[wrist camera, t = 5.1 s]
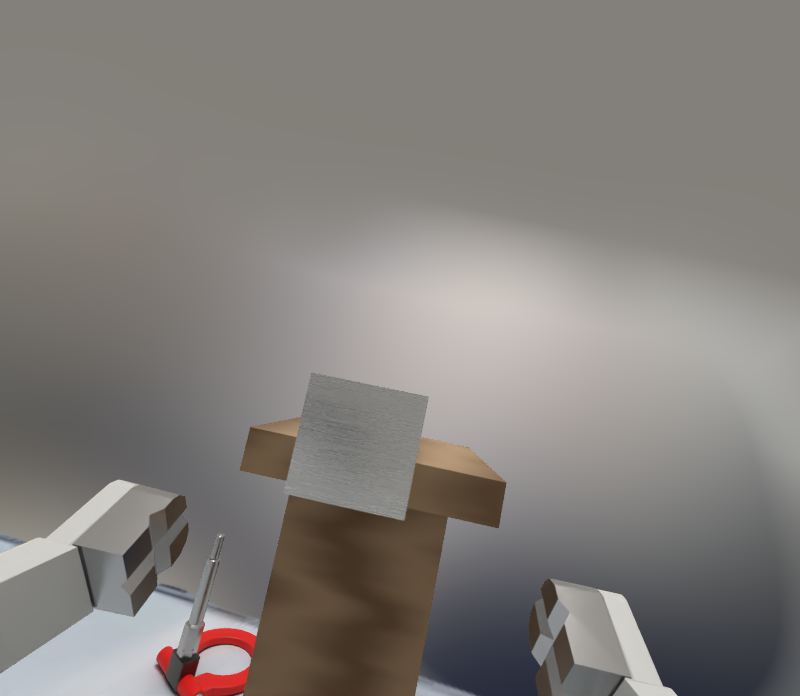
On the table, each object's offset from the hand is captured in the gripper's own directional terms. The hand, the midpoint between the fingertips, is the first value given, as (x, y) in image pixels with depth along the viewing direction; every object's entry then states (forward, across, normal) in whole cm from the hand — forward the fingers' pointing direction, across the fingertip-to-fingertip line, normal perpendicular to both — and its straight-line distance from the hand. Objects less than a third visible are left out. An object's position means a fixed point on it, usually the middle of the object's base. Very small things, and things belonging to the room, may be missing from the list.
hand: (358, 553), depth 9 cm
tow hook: (+14, -12, -38) cm, 42 cm away
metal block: (+10, -1, -5) cm, 12 cm away
